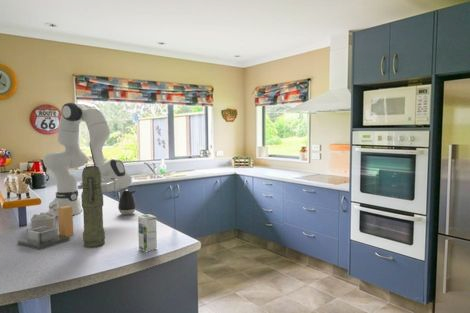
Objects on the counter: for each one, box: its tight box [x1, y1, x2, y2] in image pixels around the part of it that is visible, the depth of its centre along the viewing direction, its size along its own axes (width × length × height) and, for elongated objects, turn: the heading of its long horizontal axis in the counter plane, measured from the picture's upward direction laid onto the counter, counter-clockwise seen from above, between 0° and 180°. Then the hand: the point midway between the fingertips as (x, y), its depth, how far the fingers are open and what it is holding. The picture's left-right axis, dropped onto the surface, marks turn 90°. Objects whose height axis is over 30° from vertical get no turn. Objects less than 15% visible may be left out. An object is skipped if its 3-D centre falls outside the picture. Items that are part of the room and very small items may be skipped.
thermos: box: [80, 165, 106, 249], centre depth 143 cm, size 9×12×35 cm
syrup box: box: [137, 213, 158, 253], centre depth 137 cm, size 6×6×14 cm
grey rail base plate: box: [17, 226, 70, 250], centre depth 148 cm, size 14×16×6 cm
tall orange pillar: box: [57, 206, 74, 237], centre depth 158 cm, size 4×4×14 cm
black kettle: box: [117, 189, 137, 216], centre depth 200 cm, size 10×10×15 cm
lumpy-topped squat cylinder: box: [30, 212, 57, 230], centre depth 168 cm, size 10×13×9 cm
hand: (84, 188), depth 167 cm, fingers open, 8 cm apart
